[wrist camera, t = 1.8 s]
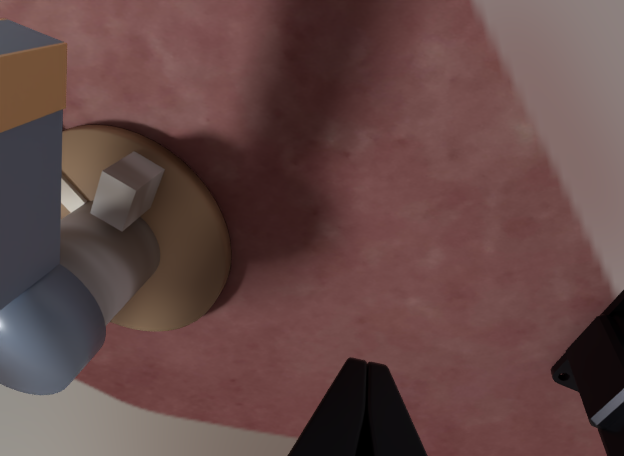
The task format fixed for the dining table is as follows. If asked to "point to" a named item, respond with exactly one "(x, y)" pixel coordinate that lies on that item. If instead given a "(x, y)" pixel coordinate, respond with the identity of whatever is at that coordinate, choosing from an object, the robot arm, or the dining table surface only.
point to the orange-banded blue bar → (37, 224)
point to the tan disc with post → (139, 229)
